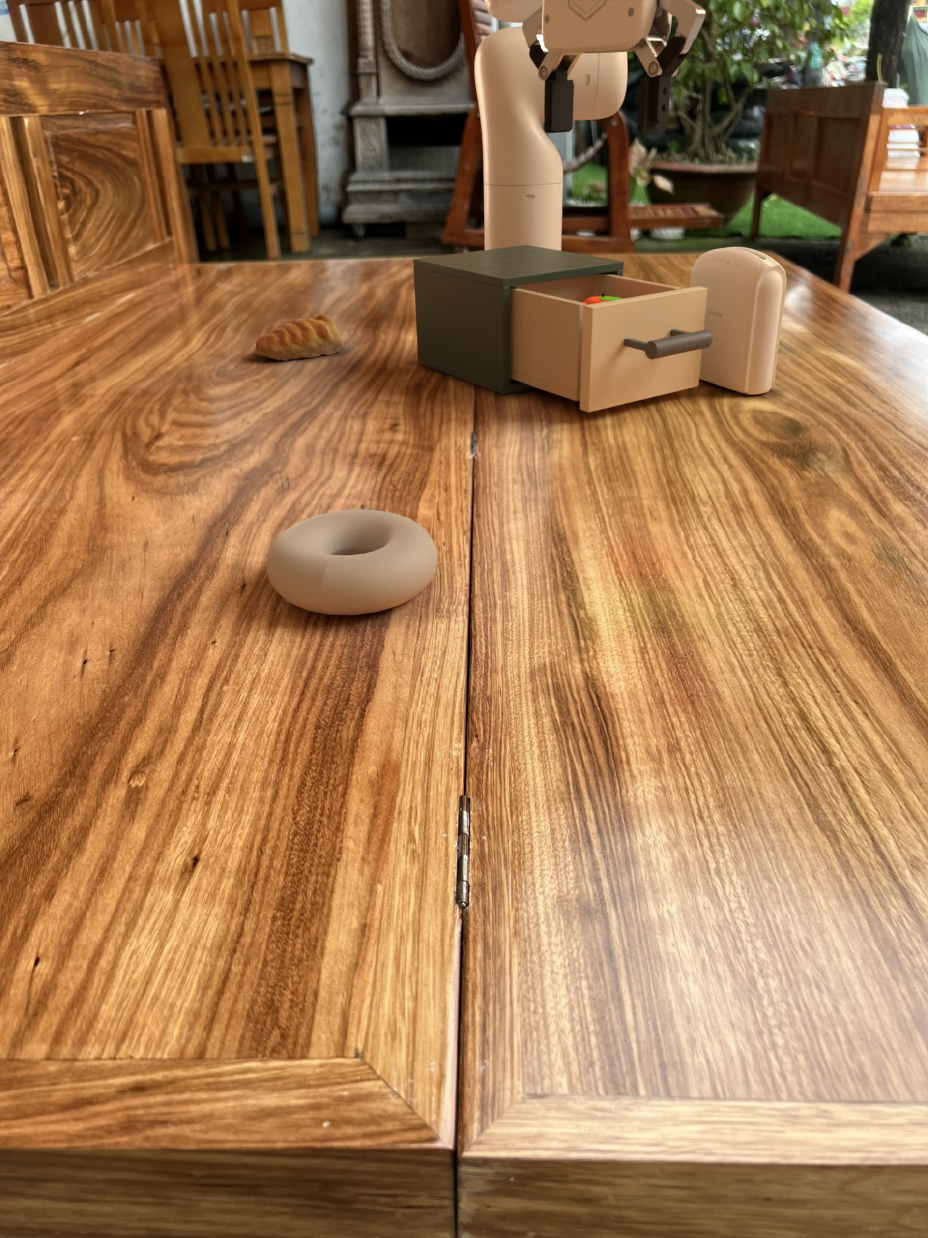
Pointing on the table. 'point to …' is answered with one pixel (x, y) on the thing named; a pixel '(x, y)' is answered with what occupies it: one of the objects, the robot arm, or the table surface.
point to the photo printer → (741, 317)
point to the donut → (352, 562)
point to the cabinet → (484, 306)
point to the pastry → (300, 339)
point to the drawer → (607, 338)
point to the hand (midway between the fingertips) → (603, 132)
